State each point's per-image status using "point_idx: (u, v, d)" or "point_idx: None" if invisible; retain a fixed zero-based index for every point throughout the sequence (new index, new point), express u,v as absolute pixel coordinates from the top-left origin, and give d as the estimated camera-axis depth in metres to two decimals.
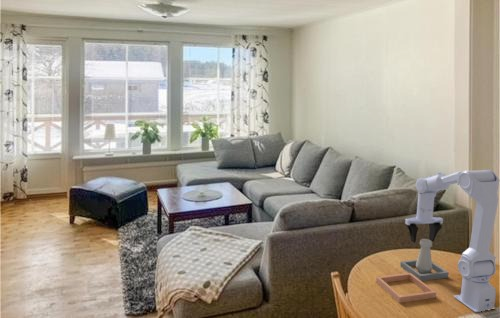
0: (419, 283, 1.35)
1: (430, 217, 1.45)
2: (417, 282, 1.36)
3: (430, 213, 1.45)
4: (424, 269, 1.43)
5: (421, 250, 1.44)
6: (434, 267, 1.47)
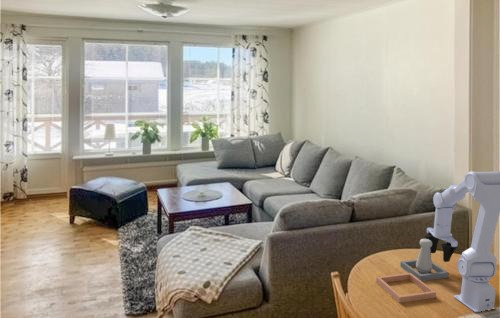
0: (419, 283, 1.35)
1: (437, 232, 1.43)
2: (417, 282, 1.36)
3: (437, 227, 1.43)
4: (424, 269, 1.43)
5: (421, 250, 1.44)
6: (434, 267, 1.47)
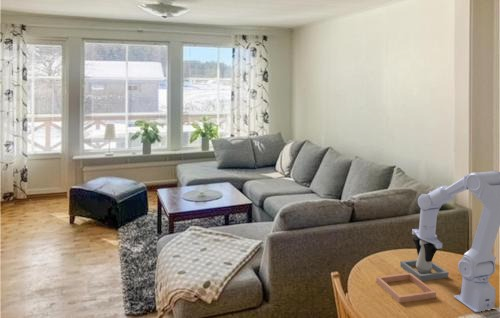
0: (419, 283, 1.35)
1: (422, 233, 1.42)
2: (417, 282, 1.36)
3: (422, 229, 1.41)
4: (424, 269, 1.43)
5: (421, 250, 1.44)
6: (434, 267, 1.47)
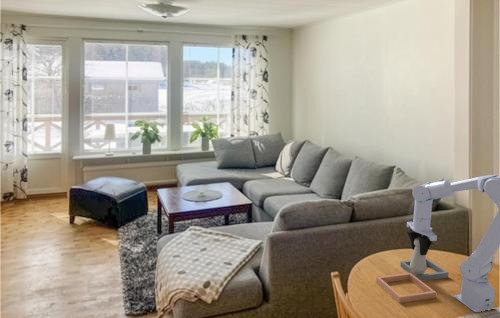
0: (419, 283, 1.35)
1: (416, 225, 1.36)
2: (417, 282, 1.36)
3: (416, 221, 1.36)
4: (417, 269, 1.38)
5: (415, 249, 1.39)
6: (434, 267, 1.47)
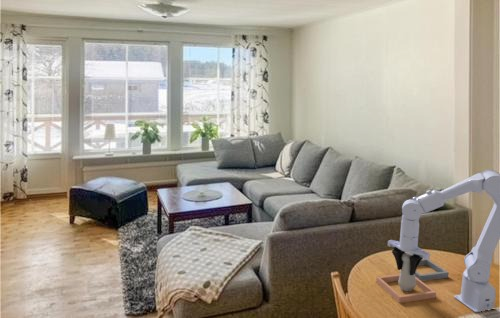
0: (419, 283, 1.35)
1: (406, 245, 1.28)
2: (417, 282, 1.36)
3: (406, 240, 1.27)
4: (409, 287, 1.30)
5: (404, 266, 1.31)
6: (434, 267, 1.47)
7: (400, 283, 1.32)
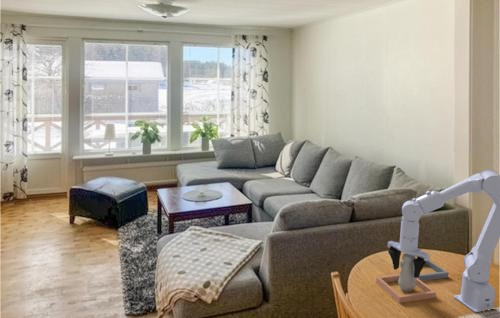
0: (419, 283, 1.35)
1: (406, 246, 1.28)
2: (417, 282, 1.36)
3: (406, 242, 1.28)
4: (409, 287, 1.30)
5: (405, 266, 1.31)
6: (434, 267, 1.47)
7: (400, 283, 1.32)
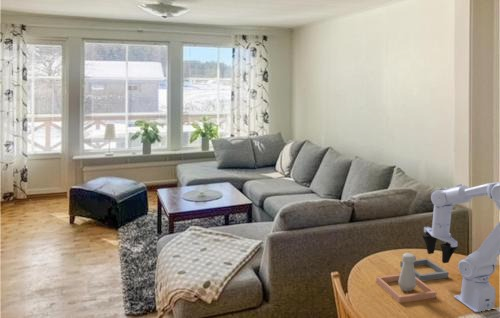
0: (419, 283, 1.35)
1: (435, 231, 1.35)
2: (417, 282, 1.36)
3: (435, 227, 1.34)
4: (409, 287, 1.30)
5: (405, 266, 1.31)
6: (434, 267, 1.47)
7: (400, 283, 1.32)
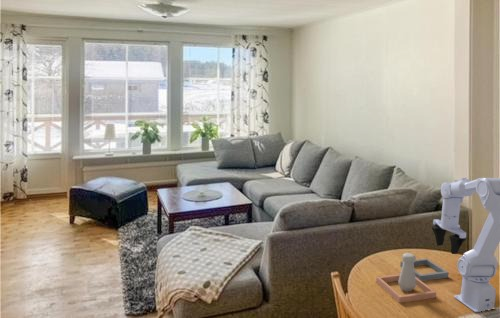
0: (419, 283, 1.35)
1: (444, 223, 1.38)
2: (417, 282, 1.36)
3: (444, 218, 1.38)
4: (409, 287, 1.30)
5: (405, 266, 1.31)
6: (434, 267, 1.47)
7: (400, 283, 1.32)
